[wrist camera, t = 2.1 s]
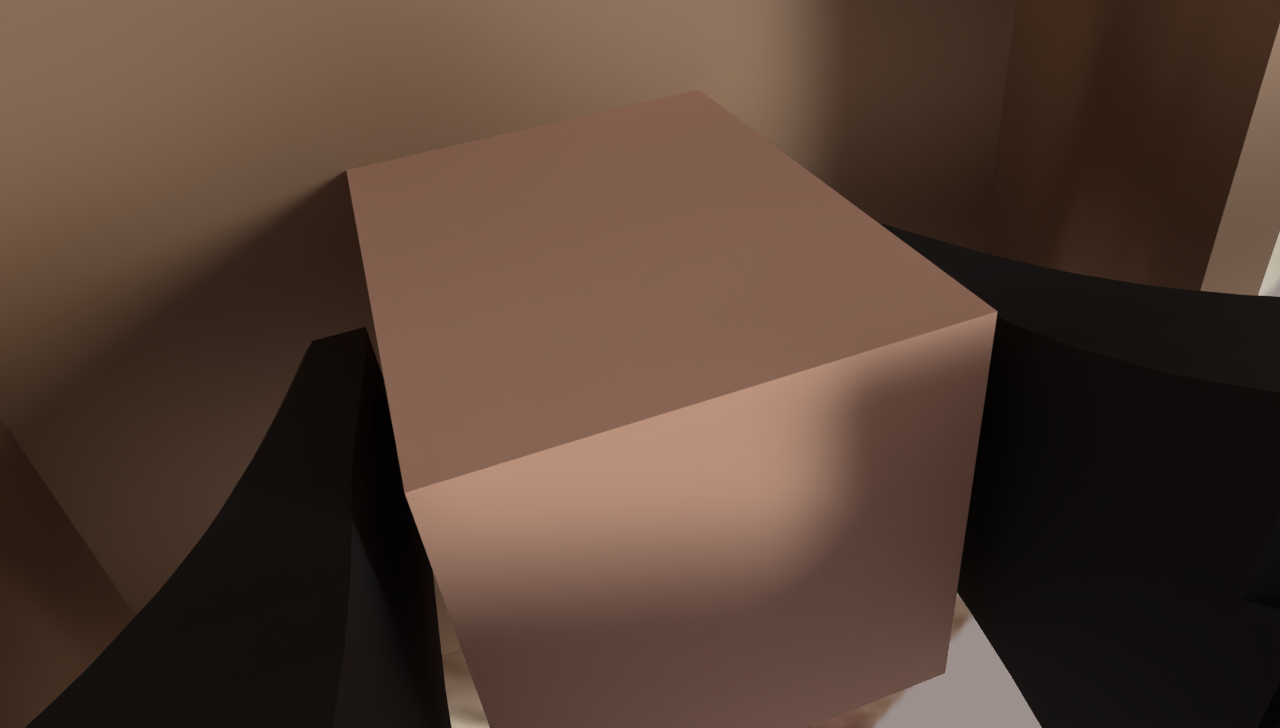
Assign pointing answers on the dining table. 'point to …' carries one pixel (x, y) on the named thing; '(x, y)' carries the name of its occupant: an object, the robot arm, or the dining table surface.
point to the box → (490, 106)
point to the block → (672, 421)
